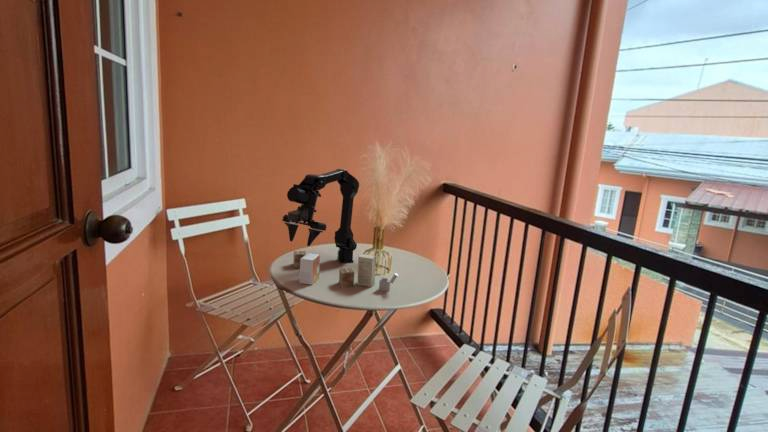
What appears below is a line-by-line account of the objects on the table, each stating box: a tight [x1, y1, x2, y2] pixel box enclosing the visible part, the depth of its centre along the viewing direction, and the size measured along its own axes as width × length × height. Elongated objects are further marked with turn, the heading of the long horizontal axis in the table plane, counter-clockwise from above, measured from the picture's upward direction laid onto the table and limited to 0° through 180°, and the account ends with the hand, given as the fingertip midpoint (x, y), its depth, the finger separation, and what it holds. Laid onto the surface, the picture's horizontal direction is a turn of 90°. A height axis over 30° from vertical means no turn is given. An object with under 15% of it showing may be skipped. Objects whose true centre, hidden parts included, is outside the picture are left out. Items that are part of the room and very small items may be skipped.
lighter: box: [378, 272, 399, 293], centre depth 157 cm, size 7×2×8 cm, turn 75°
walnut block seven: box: [293, 250, 307, 269], centre depth 177 cm, size 5×5×6 cm
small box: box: [299, 252, 321, 285], centre depth 161 cm, size 8×6×10 cm
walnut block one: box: [338, 267, 355, 288], centre depth 160 cm, size 5×5×6 cm
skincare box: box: [357, 253, 376, 288], centre depth 161 cm, size 6×4×12 cm
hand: (299, 243), depth 158 cm, fingers open, 9 cm apart
